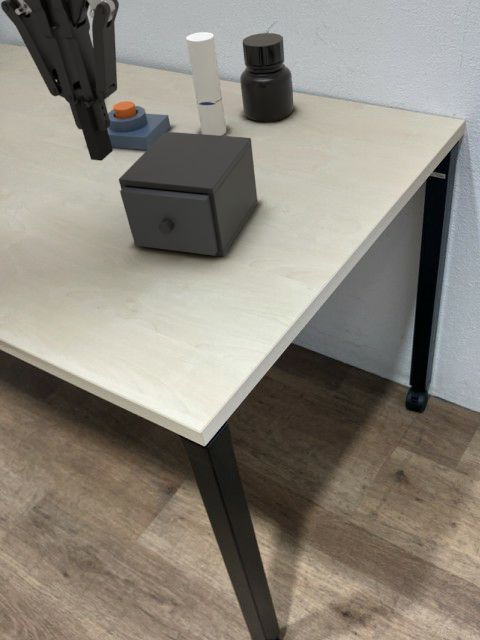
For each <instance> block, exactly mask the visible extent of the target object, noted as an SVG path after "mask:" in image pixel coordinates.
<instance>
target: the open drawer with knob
mask: <svg viewBox="0 0 480 640" xmlns="http://www.w3.org/2000/svg"><path fill="white" fill-rule="evenodd" d="M119 193H120V197H121V200H122V204H123V207H124V208H123V209H124V211H125V214H126V219H127V221H128V222H127V223H128V226H129V229H130V232H131V237H132V238H133V239H132V240H133V244H134V246H137V247H144V248H145V247H146V248H153V249H158V250H159V249H160V250H168V251H176V252H184V253H191V254H197V255H198V254H199V255H208V256H215V255H216V253H217V252H218V246H217V240H216V234H215V228H214V222H213V216H212V210H211V204H210V198H209V195H208V194H205V193H195V192H185V191H175V190H165V189H155V188H145V187H136V188H131V187H124V188H123V189H122V190H119ZM215 257H216V256H215Z"/></svg>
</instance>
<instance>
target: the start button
mask: <svg viewBox="0 0 480 640" xmlns="http://www.w3.org/2000/svg"><path fill="white" fill-rule="evenodd" d="M135 106H136V105H135V103H134V102H133V101H131V100H127V101H125V100H124V101H120V102H117V103H115V104H113V106H112V110H114V113H115V117H116V118H118V119H125V118H130V117H133V116H135V115H136V114H137V112H136V108H135Z"/></svg>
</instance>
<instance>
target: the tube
mask: <svg viewBox="0 0 480 640" xmlns="http://www.w3.org/2000/svg"><path fill="white" fill-rule="evenodd" d="M185 38H186V47H187V52H188V58H189V64H190V70H191V76H192V83H193V88H194V94H195V99H196V105H197V111H198V112H197V113H198V118H199V124H200V130H201V134H204V135H218V136H224V135H225V134H226V133H227V125H226V124H227V123H226V118H225V110H224V102H223V95H222V87H221V80H220V79H221V78H220V73H219V65H218V59H217V58H218V57H217V51H216V44H215V43H216V42H215V35H214V33H212V32H208V31H202V32H201V31H200V32H195V33H191V34H188V35H187V36H186V37H185Z"/></svg>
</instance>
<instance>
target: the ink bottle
mask: <svg viewBox="0 0 480 640" xmlns="http://www.w3.org/2000/svg"><path fill="white" fill-rule="evenodd" d="M284 47H285V46H284V36H283V35H281V34H278V33H274V32H262V33H255V34H251V35H248V36H246V37H245V38H244V39H242V51H243V62H244V65H245V69H244V70H243V71H242V72H241V74H240V76H239V77H240V79H239V81H240V91H241V99H242V107H243V108H242V110H243V114H244V116H245V117H246V118H247V119H249V120H253V121H256V122H257V121H258V122H274V121H275V122H276V121H279V120H282V119H284V118H286V117H288V116H290V114H291V113H292V112H293V110H294V93H293V92H294V91H293V78H292V76H293V75H292V71H291V69H290V68H289V67H288V66H286V65H285V48H284Z"/></svg>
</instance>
